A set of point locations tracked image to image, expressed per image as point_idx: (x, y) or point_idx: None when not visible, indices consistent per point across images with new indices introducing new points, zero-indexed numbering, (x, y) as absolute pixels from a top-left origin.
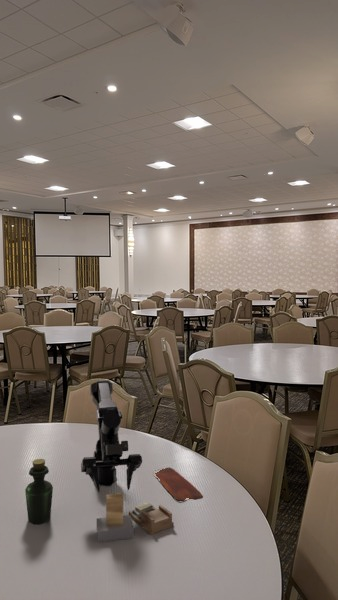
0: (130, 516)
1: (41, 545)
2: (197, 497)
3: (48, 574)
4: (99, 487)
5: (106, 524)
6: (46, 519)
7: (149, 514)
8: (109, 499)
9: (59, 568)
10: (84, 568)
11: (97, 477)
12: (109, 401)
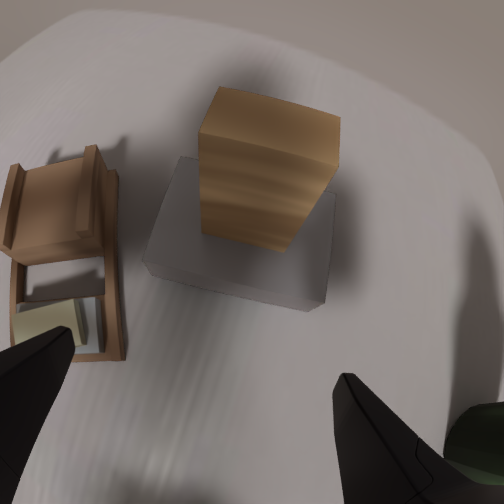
0: (148, 244)
1: (472, 280)
2: None
3: (441, 157)
4: (350, 392)
5: None
6: (466, 415)
7: (64, 222)
8: (320, 115)
9: (424, 161)
10: (369, 130)
11: (402, 460)
12: None
